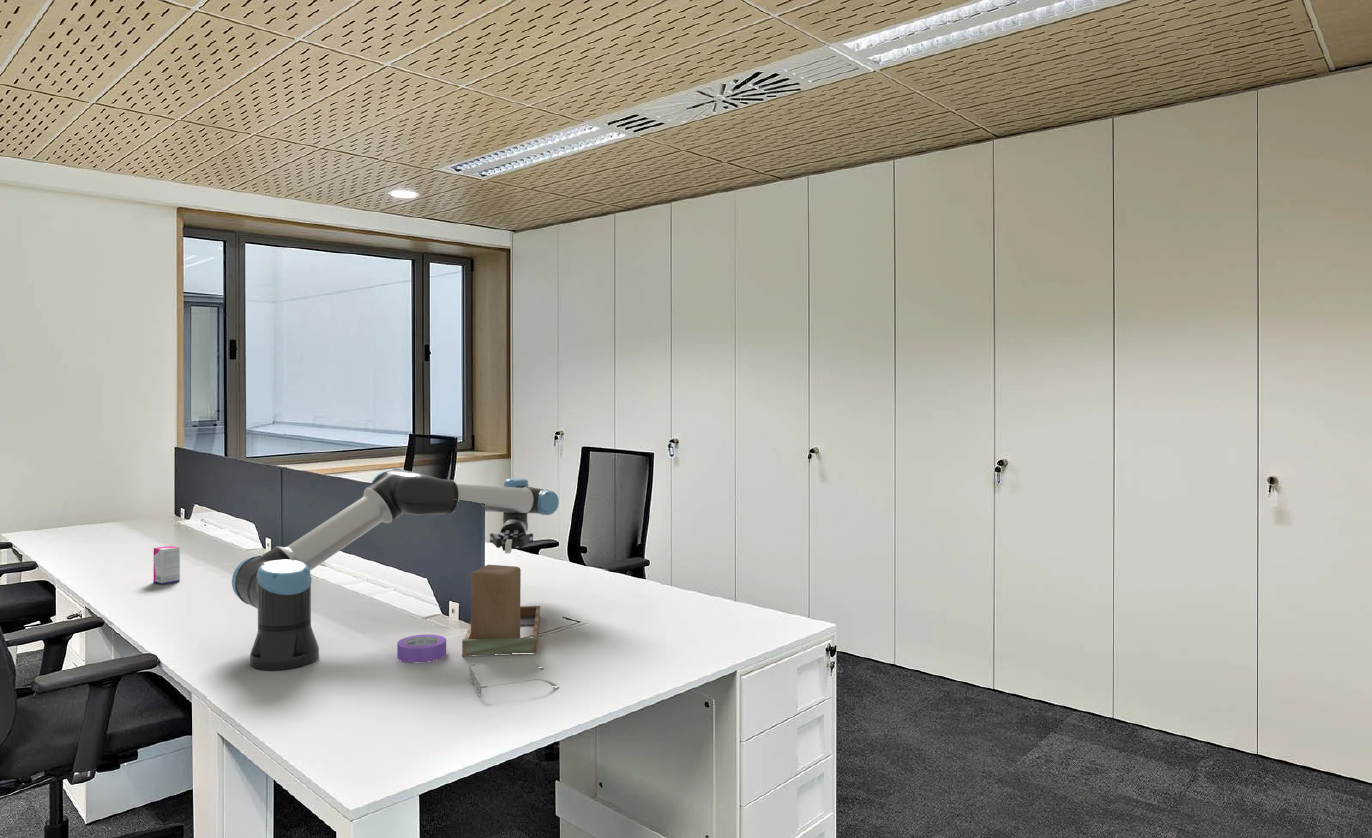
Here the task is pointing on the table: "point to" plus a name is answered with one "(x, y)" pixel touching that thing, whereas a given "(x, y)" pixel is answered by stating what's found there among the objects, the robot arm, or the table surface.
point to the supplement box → (166, 565)
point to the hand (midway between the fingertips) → (507, 548)
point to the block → (495, 602)
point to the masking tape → (421, 648)
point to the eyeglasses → (479, 686)
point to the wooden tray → (506, 645)
